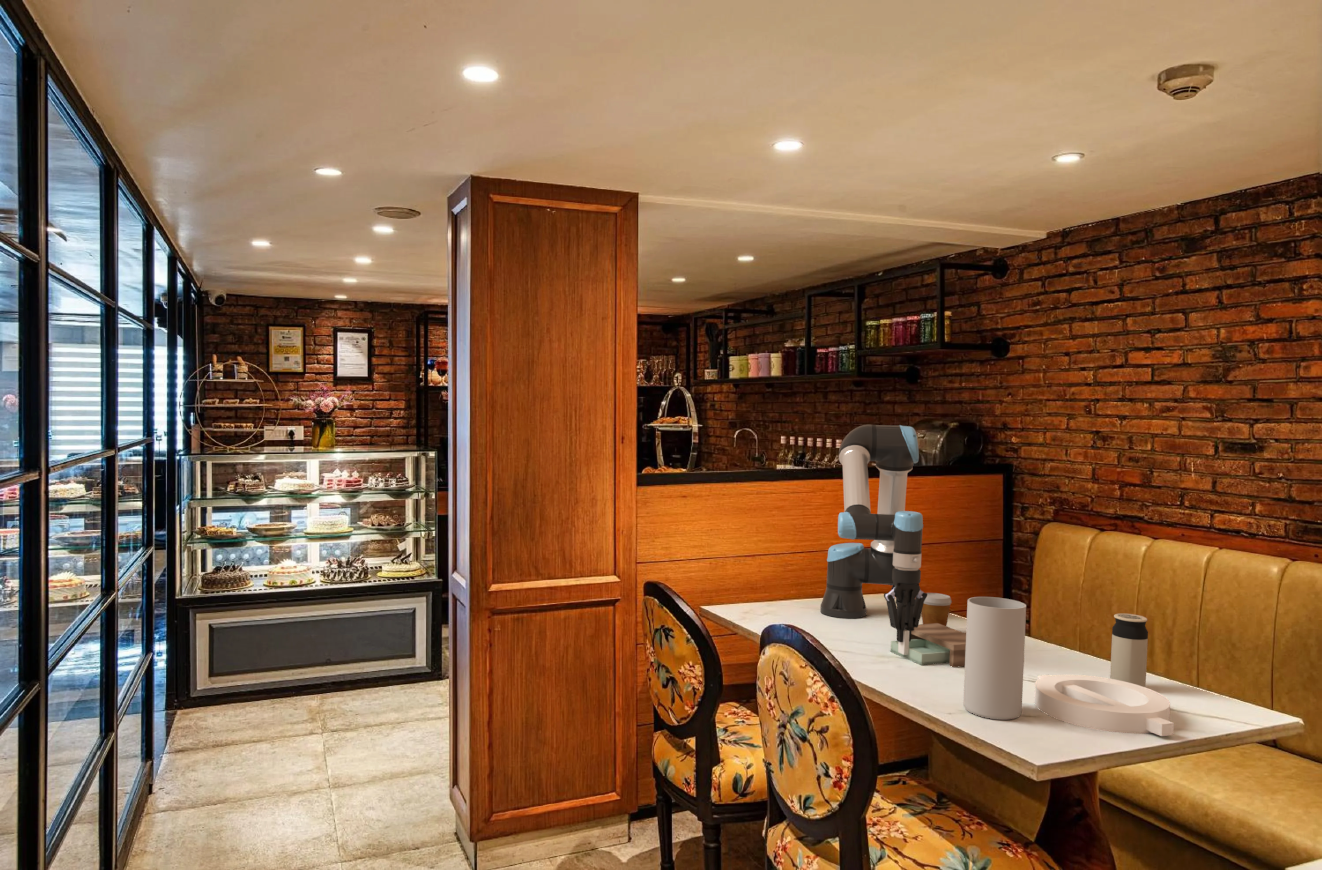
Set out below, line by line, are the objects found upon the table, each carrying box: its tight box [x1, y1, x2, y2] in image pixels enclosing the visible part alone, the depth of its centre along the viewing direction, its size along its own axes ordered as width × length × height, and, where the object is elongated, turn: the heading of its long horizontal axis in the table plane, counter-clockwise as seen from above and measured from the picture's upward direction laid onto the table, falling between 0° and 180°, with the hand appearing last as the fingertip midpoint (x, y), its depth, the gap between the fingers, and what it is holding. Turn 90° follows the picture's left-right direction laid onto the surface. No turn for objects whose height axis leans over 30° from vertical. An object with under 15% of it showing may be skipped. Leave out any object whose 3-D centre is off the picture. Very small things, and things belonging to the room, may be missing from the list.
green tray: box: [890, 639, 950, 666], centre depth 251 cm, size 14×12×3 cm
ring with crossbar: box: [1033, 674, 1175, 737], centre depth 209 cm, size 28×28×5 cm
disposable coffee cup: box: [921, 592, 953, 627], centre depth 277 cm, size 10×10×12 cm
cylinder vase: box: [962, 596, 1027, 721], centre depth 206 cm, size 12×12×25 cm
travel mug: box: [1109, 613, 1149, 688], centre depth 228 cm, size 8×8×18 cm
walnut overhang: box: [911, 623, 966, 668], centre depth 254 cm, size 22×12×6 cm, turn 21°
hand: (903, 653), depth 249 cm, fingers closed
